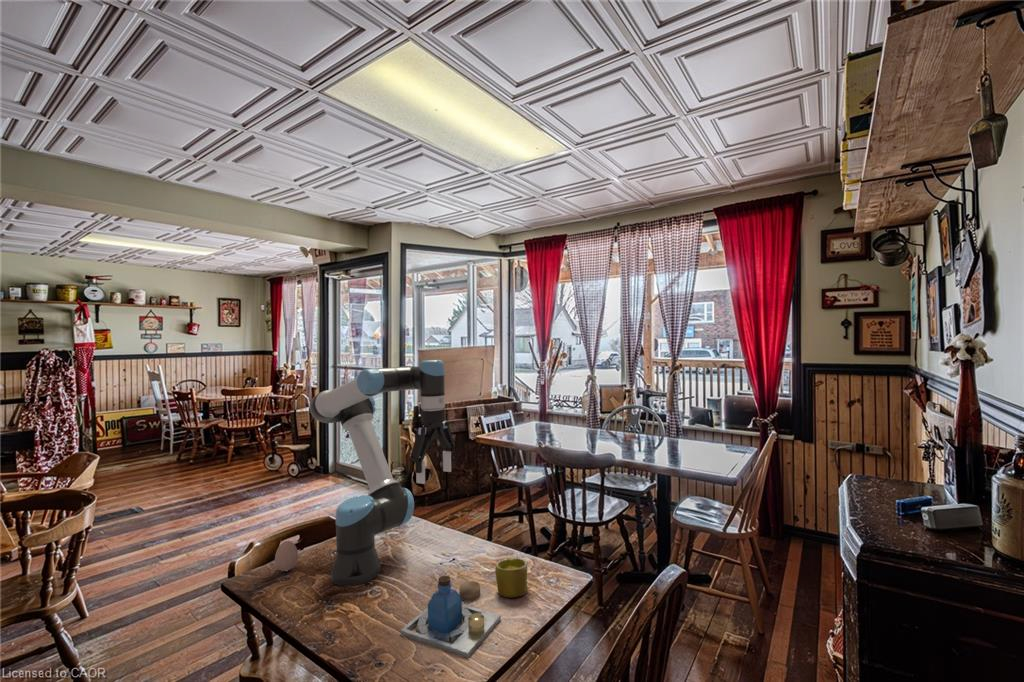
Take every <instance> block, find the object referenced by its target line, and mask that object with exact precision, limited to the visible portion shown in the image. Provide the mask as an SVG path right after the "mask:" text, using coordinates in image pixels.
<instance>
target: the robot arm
mask: <svg viewBox="0 0 1024 682" xmlns="http://www.w3.org/2000/svg"><path fill="white" fill-rule="evenodd" d="M444 364H445V363H444V361H443V360H441V359H428V360H427V359H425V360H421V361H419V366H417V365H416V366H415V365H414V366H413V365H403V366H396V367H395V366H394V367H376V368H375V367H371V368H366V369H362V370H361V371H359V372H358V373H359V374H358V375H357V378H354V379H351V380H350V381H347V382H346V383H344V384H342V385H340V386H338V387H335V388H334V389H332V390H330V389H328V390H327V389H326V390H323V391H321V392H319V393H317V394H316V395H314V396H313V398H312V399H311V400H310V403H309V413H310V414H311V416H312V417H313V418H314V419H315V420H316V421H318V422H321V423H323V424H335V423H340V424H341V428H342V429H343V430H344V431H345V430H346V432H347V431H348V433H349V436H350V439H351V442H352V444H353V447H354V450H355V453H356V456H357V459H358V461H359V464H360V467H361V469H362V472H363V475H364V477H365V481H366V483H367V486H368V489H369V491H368V494H367V495H366V494H364V495H359V496H357V495H355V496H353V497H350V498H348V499H345V500H343V501H342V502H341V503H340V504H338V506H337V508H336V510H335V520H334V521H335V533H336V534H335V537H336V538H335V539H336V540H335V541H336V554H335V557H334V561H333V566H332V568H331V571H330V580H331V582H332V581H333V582H334V583H333V582H332V583H333V584H335V583H336V584H335V585H337V584H339V585H338V586H341V585H344V586H343V587H349V586H348V585H352V586H357V585H361V584H364V583H367V582H370V581H371V580H373V578H374V579H375V578H376V577H378V575H379V574H380V573H381V570H382V566H381V565H382V564H381V559H380V558H379V554H378V551H377V549H376V545H375V541H376V540H375V536H377V535H378V534H381V533H384V532H386V531H388V530H391V529H393V528H399V527H400V526H402V525H403V524H406V523H408V522H409V521H410V520H411V519H412V517H413V515H414V510H415V500H414V496H413V494H412V492H411V491H410V489H408V488H406V487H402V485H401V482H400V481H399V480H396V479H394V477H393V475H392V473H391V469H390V467H389V464H388V462H387V459H386V456H385V453H384V451H383V449H382V446H381V443H380V441H379V438H378V435H377V434H376V431H375V428H374V426H373V423H372V421H373V419H374V414H375V412H376V406H375V405H376V401H375V399H374V397H375V396H377V395H379V394H381V393H391V392H396V391H397V392H398V391H399V392H400V391H407V390H420V409H421V411H420V421H421V423H423V427H417V428H416V432H415V433H416V434H415V439H414V442H413V446H412V449H411V453H410V457H409V461H411V462H414V463H415V464H414V465H415V467H414V470H415V475H416V476H415V477H416V480H415V481H416V484H422V485H425V484H426V461H425V460H424V458H425V456H426V455H427V452H428V449H429V448H430V445H431V443H433V441H434V440H436V439H437V440H438V442H439V444H440V445H441V446H442V448H443V451H442V471H443V472H447V473H451V472H452V452H454V451H455V448H456V442H455V440H454V437H453V435H452V434H453V433H452V431H451V428H450V427H451V426H450V421H446V409H445V407H446V398H445V394H446V393H445V391H446V389H445V386H446V385H445V375H446V371H445V365H444Z"/></svg>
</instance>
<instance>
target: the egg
mask: <svg viewBox="0 0 1024 682" xmlns="http://www.w3.org/2000/svg"><path fill="white" fill-rule="evenodd" d="M298 559H299V551H298V548H297V546H296V544H295V543H294V542H292V541H290V540H285V541H283V542H281V543H280V544H279V546H278V548H276V552H275V555H274V565H275V567H276V568H277V569H278V570H279V571H280V570H281V571H280V572H283V571H286V570H289V569H291V568H292V569H294V567H295V566H296V564H297V563H298ZM292 569H291V570H292Z"/></svg>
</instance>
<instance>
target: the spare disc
mask: <svg viewBox="0 0 1024 682" xmlns="http://www.w3.org/2000/svg"><path fill="white" fill-rule="evenodd" d="M458 588H459V590H458V591H459V593H458V594H459V595H460V597H461V598H462V600H463V601H464V600H465V601H473V600H475V599H478V598H479V597H480V596H481V584H480V583H479V582H478V581H475V580H466V581H464V582H462V583H460V584H459V587H458Z"/></svg>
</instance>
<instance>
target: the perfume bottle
mask: <svg viewBox="0 0 1024 682" xmlns="http://www.w3.org/2000/svg"><path fill="white" fill-rule="evenodd" d="M462 600H463V599H462V598H461V597H460V593H458V591H457V589H454V588H452V582H451V576H449V575H441V576H440V577H438V583H437V590H436V591H435V592H433V594H432V596H430V599H429V600H428V603H427V607H428V622H427V624H428V625H427V628H428V629H429V630H430V631H433V632H436V633H449V632H451V631H454V630H456V629H457V627H460V626H461V625H462V624H463V618H462V603H463V601H462Z"/></svg>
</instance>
